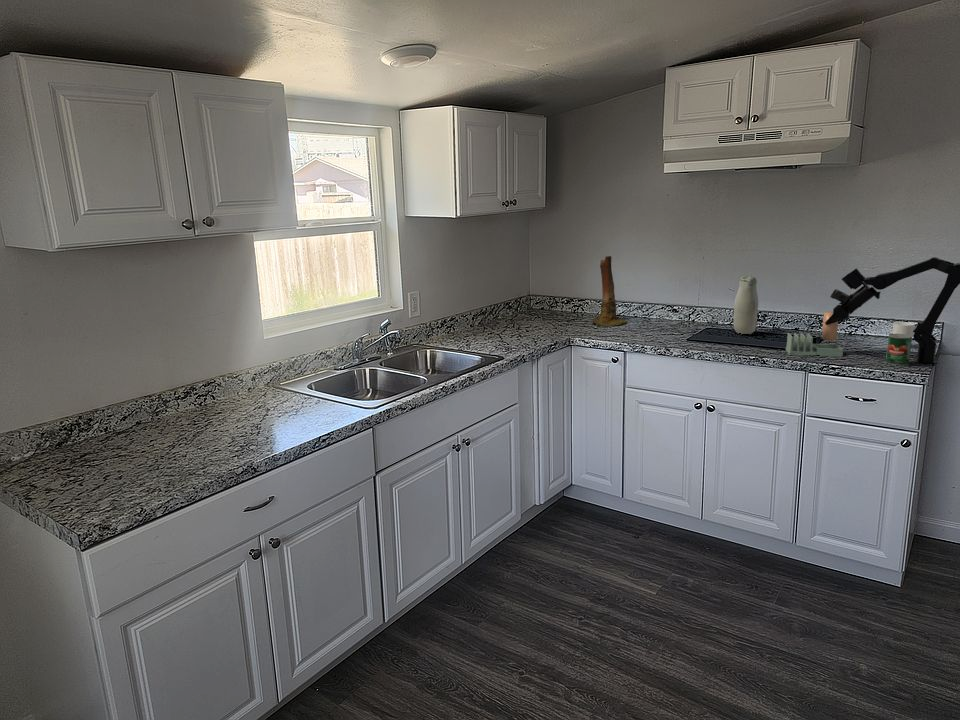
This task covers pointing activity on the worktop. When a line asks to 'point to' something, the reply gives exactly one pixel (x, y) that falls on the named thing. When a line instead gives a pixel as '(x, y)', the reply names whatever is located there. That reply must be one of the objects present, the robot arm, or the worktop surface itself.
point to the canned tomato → (898, 349)
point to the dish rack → (810, 346)
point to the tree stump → (608, 297)
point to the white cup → (903, 328)
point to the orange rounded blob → (829, 328)
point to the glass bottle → (746, 306)
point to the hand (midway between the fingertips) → (826, 322)
